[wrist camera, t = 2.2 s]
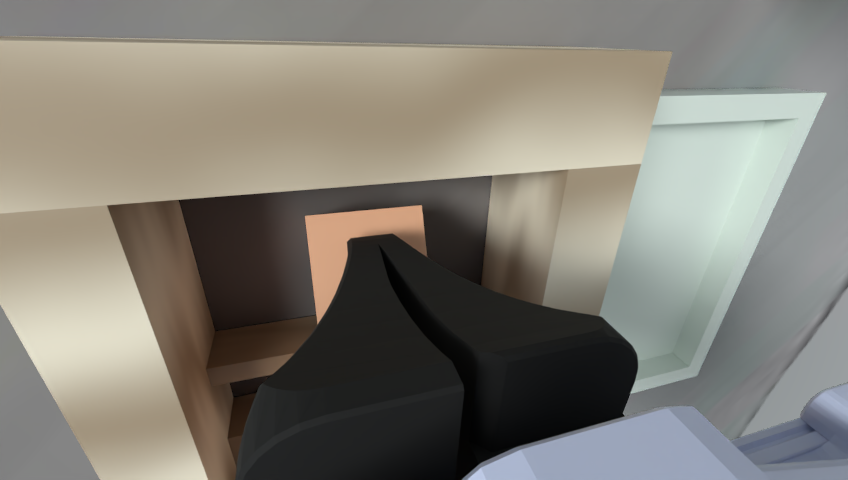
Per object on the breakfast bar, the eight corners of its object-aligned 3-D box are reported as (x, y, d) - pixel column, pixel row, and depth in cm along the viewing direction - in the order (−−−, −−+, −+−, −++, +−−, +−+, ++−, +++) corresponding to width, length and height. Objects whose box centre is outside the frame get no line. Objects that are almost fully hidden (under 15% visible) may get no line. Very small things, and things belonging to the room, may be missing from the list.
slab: (428, 465, 16) (455, 517, 13) (337, 491, 15) (344, 552, 12) (400, 211, 15) (421, 204, 12) (306, 220, 14) (304, 215, 11)
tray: (672, 355, 25) (696, 375, 24) (517, 393, 22) (534, 419, 21) (780, 87, 18) (826, 92, 16) (572, 91, 15) (605, 97, 13)
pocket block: (507, 407, 23) (552, 483, 19) (195, 486, 18) (172, 605, 15) (568, 46, 14) (672, 51, 10) (17, 35, 10) (-153, 37, 6)
